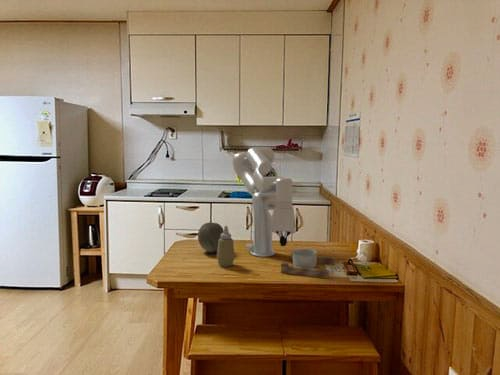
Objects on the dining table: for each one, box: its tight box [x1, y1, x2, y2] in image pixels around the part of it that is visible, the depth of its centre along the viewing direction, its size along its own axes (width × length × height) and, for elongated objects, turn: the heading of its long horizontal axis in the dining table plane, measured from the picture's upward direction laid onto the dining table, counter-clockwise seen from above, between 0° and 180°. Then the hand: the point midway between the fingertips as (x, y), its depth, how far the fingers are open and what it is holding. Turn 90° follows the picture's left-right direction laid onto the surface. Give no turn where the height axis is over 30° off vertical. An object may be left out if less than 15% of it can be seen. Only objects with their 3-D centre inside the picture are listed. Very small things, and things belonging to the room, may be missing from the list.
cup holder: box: [280, 250, 335, 279], centre depth 173 cm, size 20×21×4 cm
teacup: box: [291, 247, 318, 268], centre depth 173 cm, size 14×11×8 cm
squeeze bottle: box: [216, 225, 235, 268], centre depth 174 cm, size 8×8×18 cm
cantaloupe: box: [197, 221, 224, 254], centre depth 195 cm, size 14×14×15 cm
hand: (283, 245), depth 175 cm, fingers closed
